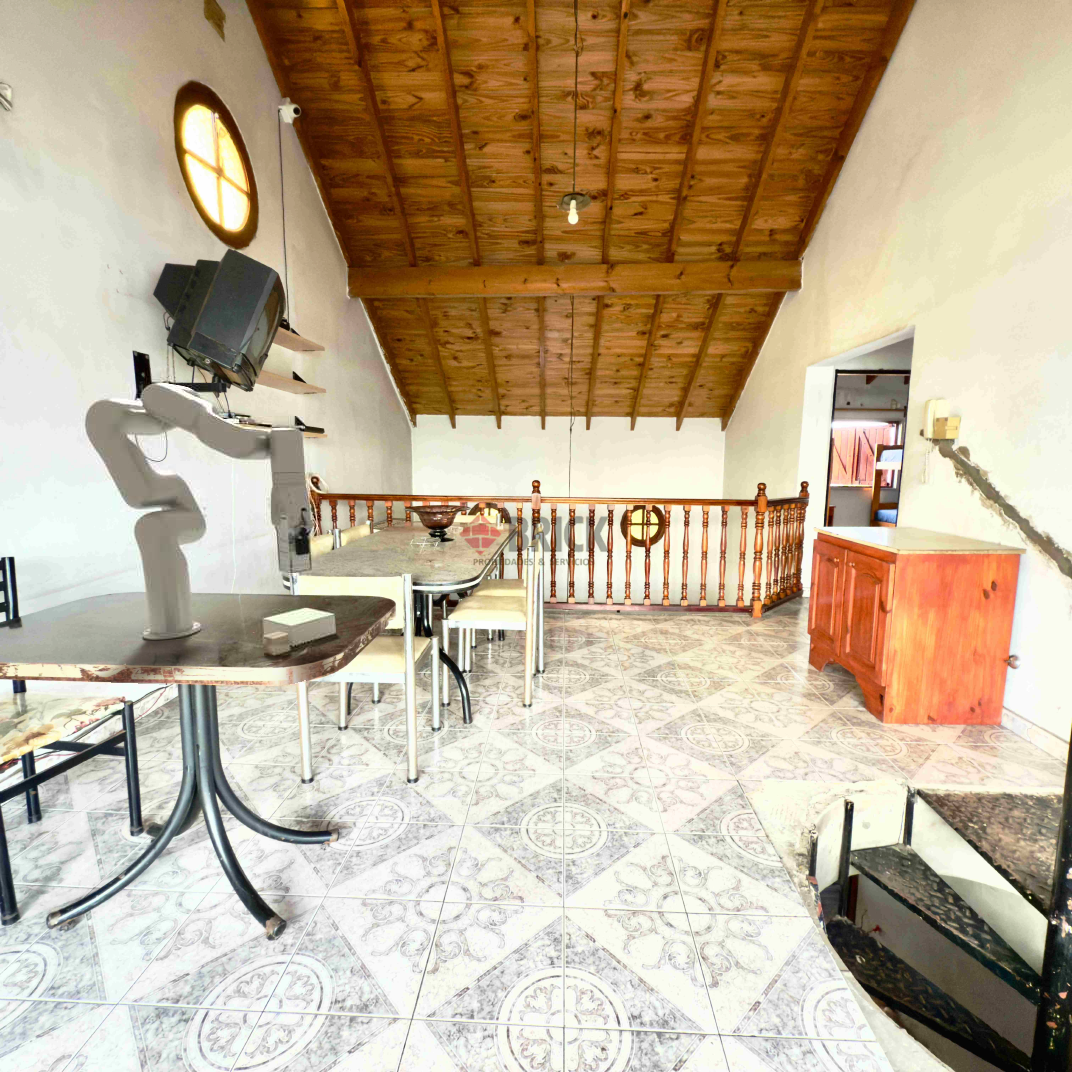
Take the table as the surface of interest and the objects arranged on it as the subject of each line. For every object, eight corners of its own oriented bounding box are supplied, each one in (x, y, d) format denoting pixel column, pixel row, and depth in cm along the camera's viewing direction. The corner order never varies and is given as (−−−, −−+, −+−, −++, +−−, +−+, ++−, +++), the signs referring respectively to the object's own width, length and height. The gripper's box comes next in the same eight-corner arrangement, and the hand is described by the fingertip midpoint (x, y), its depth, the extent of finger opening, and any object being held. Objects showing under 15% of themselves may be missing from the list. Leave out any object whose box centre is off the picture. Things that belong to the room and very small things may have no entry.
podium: (264, 638, 140) (262, 618, 139) (307, 625, 150) (305, 607, 149) (292, 646, 134) (291, 625, 133) (335, 633, 143) (334, 613, 143)
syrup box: (300, 567, 144) (296, 511, 142) (313, 570, 140) (308, 512, 138) (278, 571, 139) (274, 513, 137) (290, 574, 135) (286, 514, 134)
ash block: (264, 652, 130) (262, 635, 129) (280, 647, 133) (278, 631, 132) (274, 655, 128) (272, 638, 127) (290, 650, 131) (288, 634, 130)
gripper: (254, 480, 138) (260, 552, 141) (296, 481, 129) (302, 558, 131) (282, 479, 144) (288, 548, 147) (324, 479, 135) (329, 553, 137)
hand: (294, 552), depth 139 cm, fingers closed on syrup box, 6 cm apart
